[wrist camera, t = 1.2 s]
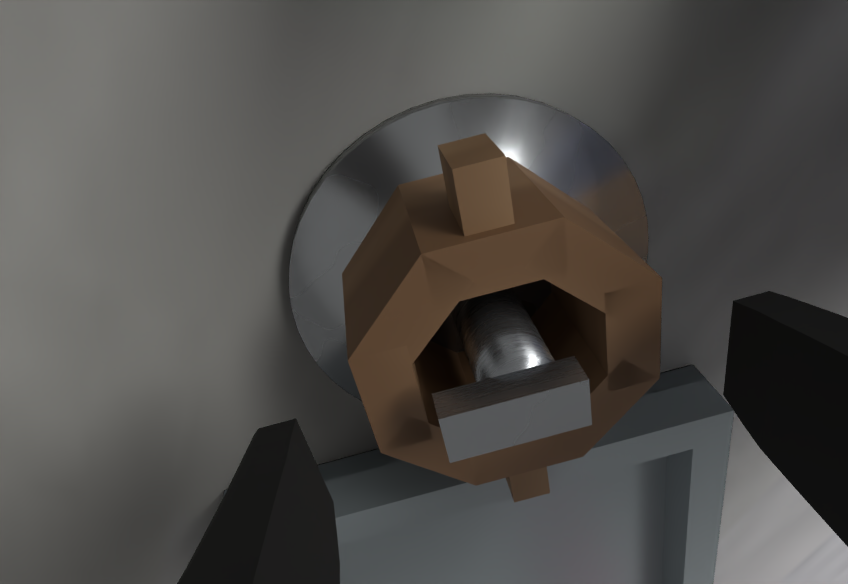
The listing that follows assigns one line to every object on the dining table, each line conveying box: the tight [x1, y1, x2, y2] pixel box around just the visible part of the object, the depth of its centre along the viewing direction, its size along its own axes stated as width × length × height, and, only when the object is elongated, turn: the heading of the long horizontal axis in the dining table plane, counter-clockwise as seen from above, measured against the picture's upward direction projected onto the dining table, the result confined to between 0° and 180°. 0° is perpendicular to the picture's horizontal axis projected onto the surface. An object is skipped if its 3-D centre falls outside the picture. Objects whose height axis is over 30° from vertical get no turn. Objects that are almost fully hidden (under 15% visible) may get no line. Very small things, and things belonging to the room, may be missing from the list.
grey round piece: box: [289, 94, 648, 463], centre depth 11 cm, size 8×8×5 cm
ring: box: [342, 133, 662, 503], centre depth 11 cm, size 5×8×3 cm
